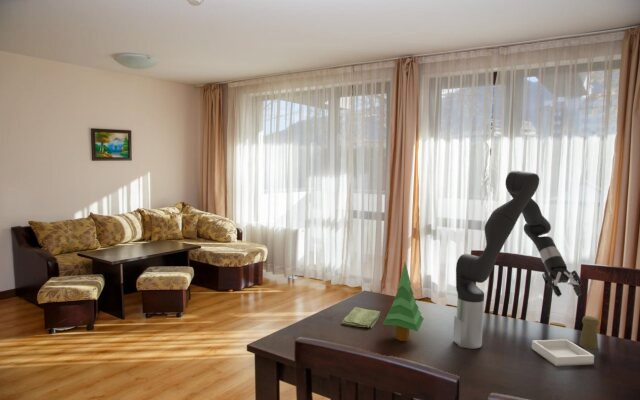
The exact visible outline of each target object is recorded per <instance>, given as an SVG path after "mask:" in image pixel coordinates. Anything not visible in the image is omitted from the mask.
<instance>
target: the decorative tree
mask: <svg viewBox="0 0 640 400" xmlns="http://www.w3.org/2000/svg"><path fill="white" fill-rule="evenodd" d="M397 287H398V288H397V291H396V294H395V297H394V299H393V303H392V304H391V307H390V308H389V310H388V313H387V316H386V318H385V319H384V321H383V323H382V325H384V326H385V325H386V326H387V325H388V326H396V329H395V330H396V331H395V336H396V337H395V339H396V340H398V341H401V342H407V341H408V340H409V339H410V330H412V331H415V332H419V330H420V328H421V325H422V323H423V321H424V317H423V316H422V315H421V314H422V312H421V311H420V309H419V306H418V304H417V301H416V299H415V297H414V292H413V290H412V283H411V279H410V275H409V271H408V267H407V263H406V262H404V264H403V267H402V271H401V275H400V278H399V283H398V286H397Z"/></svg>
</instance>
